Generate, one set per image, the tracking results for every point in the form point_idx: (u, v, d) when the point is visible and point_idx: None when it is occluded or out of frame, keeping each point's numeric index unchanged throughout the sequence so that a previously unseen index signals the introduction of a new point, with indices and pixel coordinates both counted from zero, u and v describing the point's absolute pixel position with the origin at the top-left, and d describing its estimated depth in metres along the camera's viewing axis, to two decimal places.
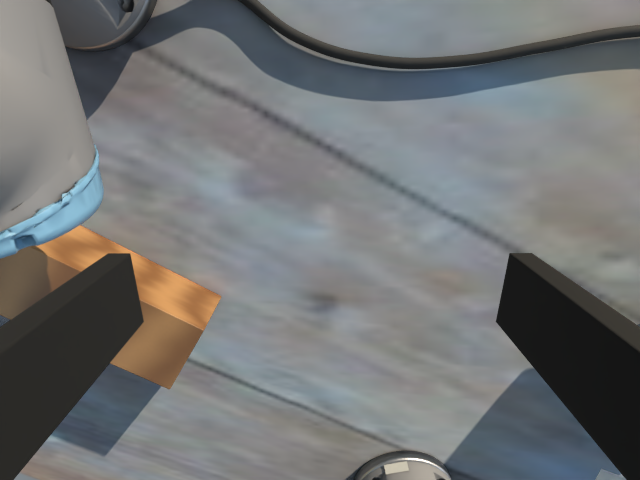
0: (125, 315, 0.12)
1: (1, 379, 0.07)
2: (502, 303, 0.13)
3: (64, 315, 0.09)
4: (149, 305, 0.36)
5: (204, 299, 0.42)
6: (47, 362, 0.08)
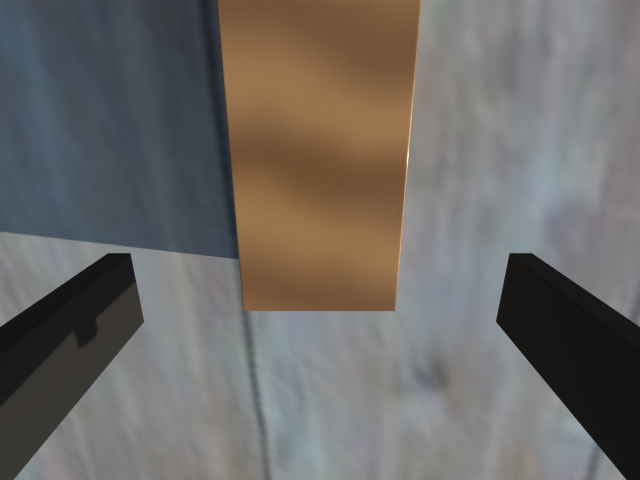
0: (125, 315, 0.12)
1: (1, 379, 0.07)
2: (502, 303, 0.13)
3: (64, 315, 0.09)
4: (400, 215, 0.19)
5: None
6: (47, 362, 0.08)
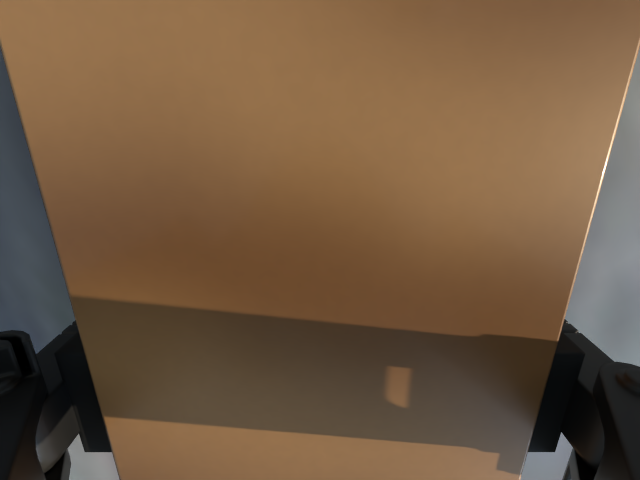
0: None
1: None
2: None
3: None
4: (537, 394, 0.07)
5: None
6: None
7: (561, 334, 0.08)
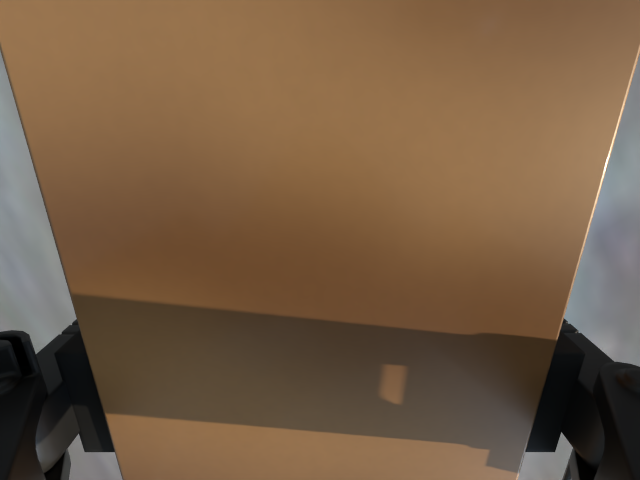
0: None
1: None
2: None
3: None
4: (535, 394, 0.07)
5: None
6: None
7: (562, 334, 0.08)
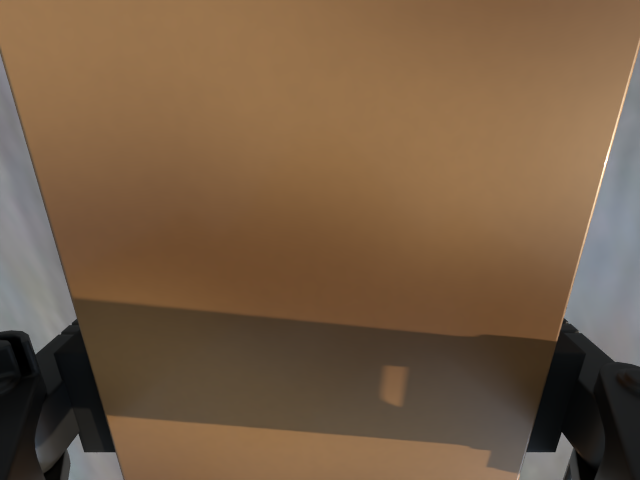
0: None
1: None
2: None
3: None
4: (536, 392, 0.07)
5: None
6: None
7: (562, 334, 0.08)
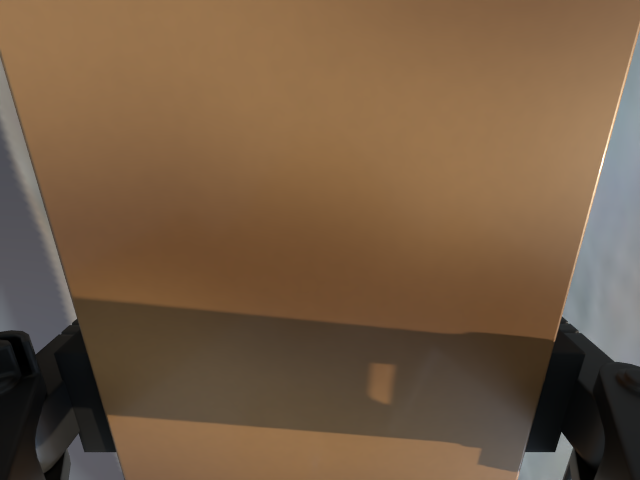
0: None
1: None
2: None
3: None
4: (535, 389, 0.07)
5: None
6: None
7: (562, 334, 0.08)
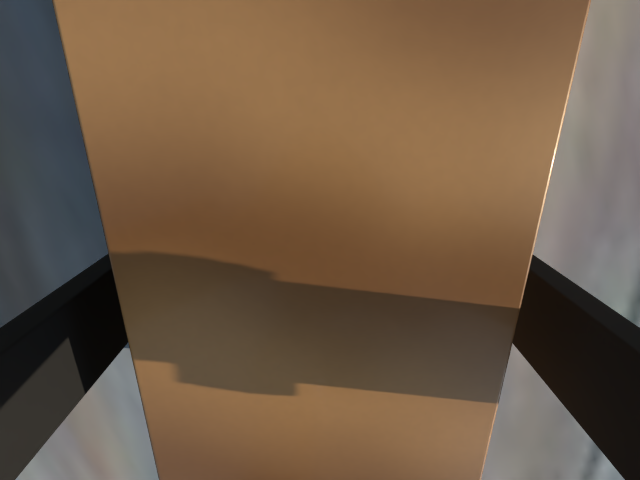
0: None
1: (4, 378, 0.07)
2: None
3: (66, 314, 0.09)
4: (503, 355, 0.09)
5: None
6: (49, 361, 0.08)
7: None
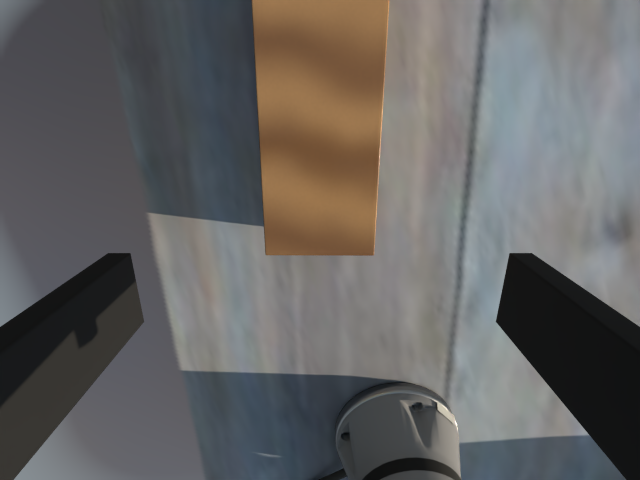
0: (125, 315, 0.12)
1: (1, 379, 0.07)
2: (502, 303, 0.13)
3: (64, 315, 0.09)
4: (376, 185, 0.28)
5: None
6: (47, 362, 0.08)
7: None
